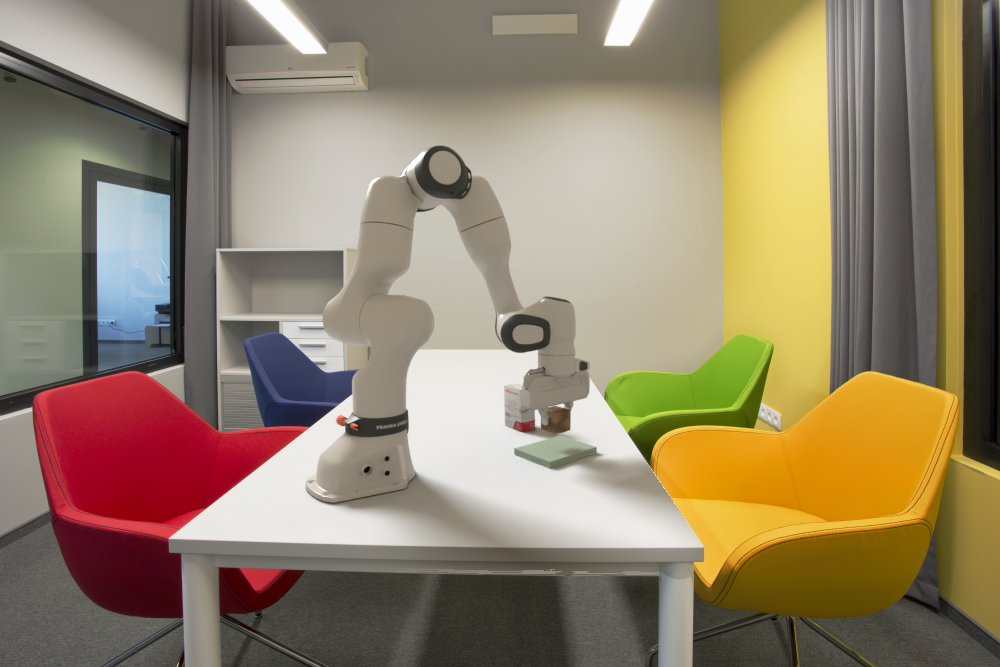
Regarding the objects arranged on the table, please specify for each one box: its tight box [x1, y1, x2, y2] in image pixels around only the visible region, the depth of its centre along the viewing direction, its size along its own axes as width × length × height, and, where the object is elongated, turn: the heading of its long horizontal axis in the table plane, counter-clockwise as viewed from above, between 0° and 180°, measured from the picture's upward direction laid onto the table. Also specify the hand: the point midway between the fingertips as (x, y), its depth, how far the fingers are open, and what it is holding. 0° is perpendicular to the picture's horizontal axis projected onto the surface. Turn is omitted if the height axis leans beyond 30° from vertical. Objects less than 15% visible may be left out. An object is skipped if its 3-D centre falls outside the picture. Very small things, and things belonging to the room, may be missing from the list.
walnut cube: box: [540, 405, 572, 435], centre depth 130 cm, size 5×5×5 cm
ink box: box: [503, 383, 536, 433], centre depth 151 cm, size 9×5×12 cm, turn 34°
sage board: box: [513, 435, 598, 469], centre depth 130 cm, size 16×12×2 cm
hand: (555, 422), depth 130 cm, fingers closed on walnut cube, 5 cm apart
